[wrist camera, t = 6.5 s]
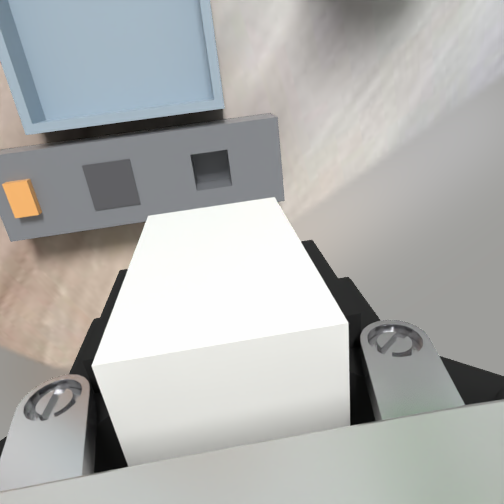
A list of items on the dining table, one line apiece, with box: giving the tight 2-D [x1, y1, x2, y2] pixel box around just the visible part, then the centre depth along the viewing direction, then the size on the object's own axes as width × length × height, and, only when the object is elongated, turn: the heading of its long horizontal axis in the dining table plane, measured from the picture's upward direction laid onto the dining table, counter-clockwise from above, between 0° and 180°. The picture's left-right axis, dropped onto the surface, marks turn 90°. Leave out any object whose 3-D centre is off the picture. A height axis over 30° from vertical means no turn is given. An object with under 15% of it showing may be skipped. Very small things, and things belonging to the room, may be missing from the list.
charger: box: [92, 197, 350, 467], centre depth 11 cm, size 4×5×9 cm
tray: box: [0, 0, 224, 135], centre depth 25 cm, size 13×12×3 cm
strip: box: [0, 113, 285, 242], centre depth 29 cm, size 20×6×4 cm, turn 97°
